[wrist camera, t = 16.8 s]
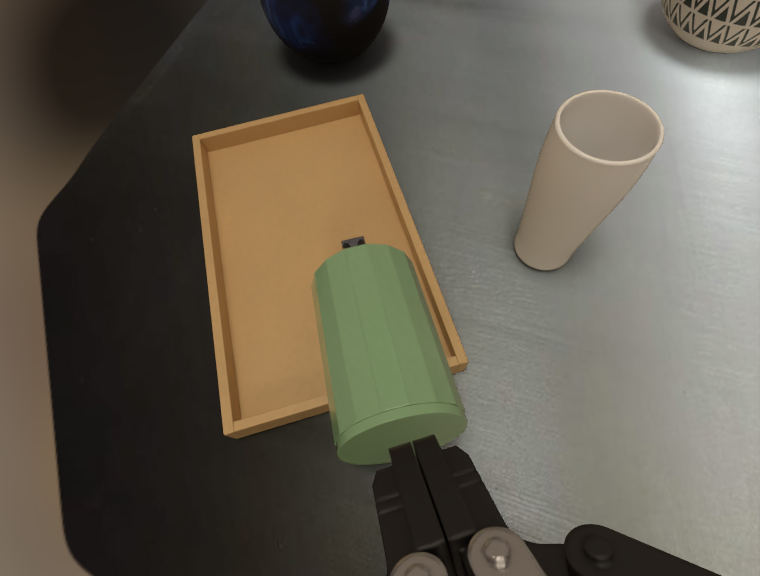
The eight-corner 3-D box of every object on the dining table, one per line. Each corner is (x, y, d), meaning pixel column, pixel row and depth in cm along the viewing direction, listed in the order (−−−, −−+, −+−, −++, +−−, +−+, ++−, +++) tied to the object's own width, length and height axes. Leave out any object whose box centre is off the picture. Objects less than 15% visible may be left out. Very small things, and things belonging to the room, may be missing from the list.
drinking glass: (593, 261, 39) (691, 139, 25) (532, 291, 38) (601, 181, 24) (548, 209, 42) (616, 75, 28) (491, 236, 41) (532, 110, 27)
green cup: (323, 437, 22) (299, 259, 30) (349, 473, 29) (324, 319, 36) (472, 399, 22) (410, 232, 30) (464, 443, 29) (414, 297, 37)
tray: (236, 439, 34) (223, 435, 31) (202, 153, 48) (191, 135, 46) (464, 370, 35) (468, 361, 33) (365, 112, 49) (363, 93, 47)
